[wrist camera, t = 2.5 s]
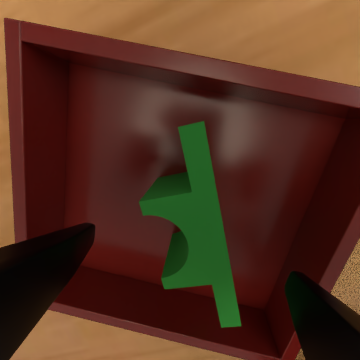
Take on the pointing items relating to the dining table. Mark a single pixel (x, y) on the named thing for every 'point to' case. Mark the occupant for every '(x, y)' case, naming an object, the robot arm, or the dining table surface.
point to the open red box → (174, 164)
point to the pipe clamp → (195, 225)
